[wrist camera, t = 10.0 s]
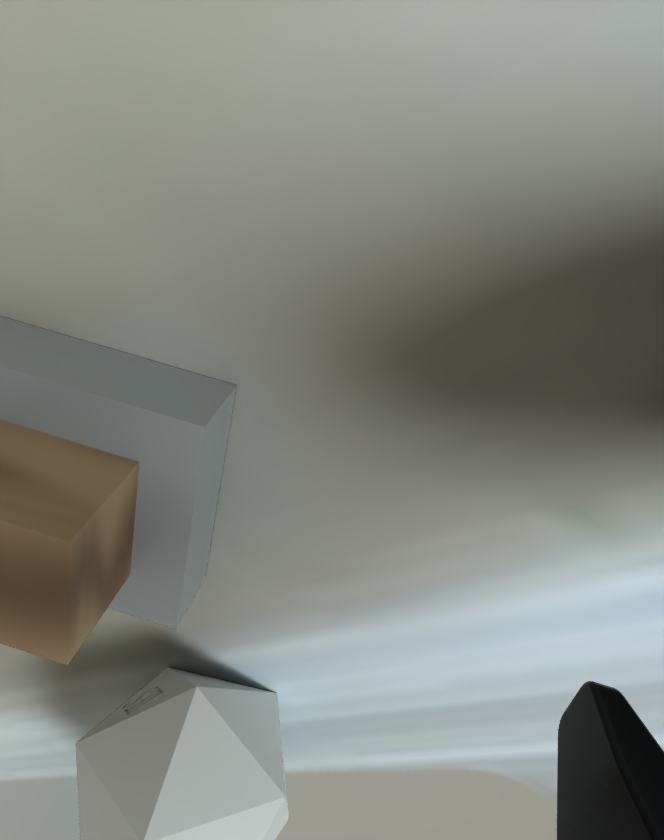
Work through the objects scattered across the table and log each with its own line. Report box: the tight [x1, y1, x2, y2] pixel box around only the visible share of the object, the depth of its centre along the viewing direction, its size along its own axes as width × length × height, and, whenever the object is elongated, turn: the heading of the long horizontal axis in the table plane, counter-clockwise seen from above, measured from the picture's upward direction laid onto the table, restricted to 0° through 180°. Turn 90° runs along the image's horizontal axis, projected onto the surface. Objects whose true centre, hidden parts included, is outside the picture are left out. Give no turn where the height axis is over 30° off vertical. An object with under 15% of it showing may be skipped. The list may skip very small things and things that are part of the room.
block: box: [0, 419, 139, 665], centre depth 19 cm, size 5×5×4 cm
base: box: [0, 316, 237, 629], centre depth 22 cm, size 9×9×3 cm
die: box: [76, 667, 289, 840], centre depth 26 cm, size 8×9×10 cm
